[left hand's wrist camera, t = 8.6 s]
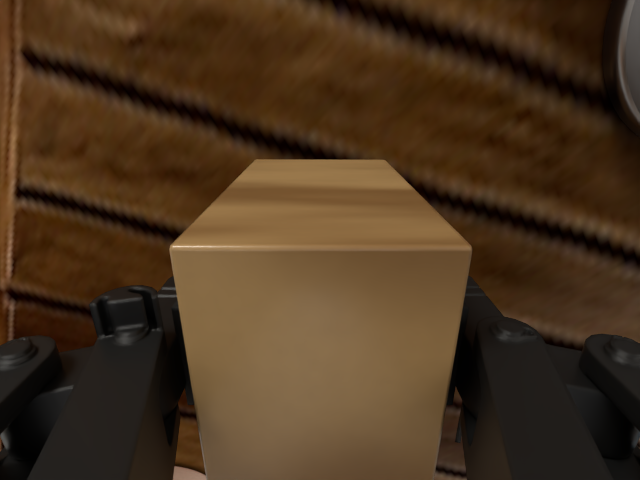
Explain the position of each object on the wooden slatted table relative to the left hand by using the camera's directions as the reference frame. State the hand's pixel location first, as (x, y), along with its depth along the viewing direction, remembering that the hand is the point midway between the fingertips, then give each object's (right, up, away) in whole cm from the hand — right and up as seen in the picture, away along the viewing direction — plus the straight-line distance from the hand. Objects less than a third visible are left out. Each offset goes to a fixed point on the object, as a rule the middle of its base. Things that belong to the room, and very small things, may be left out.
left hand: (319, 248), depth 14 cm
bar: (0, -7, +3) cm, 8 cm away
